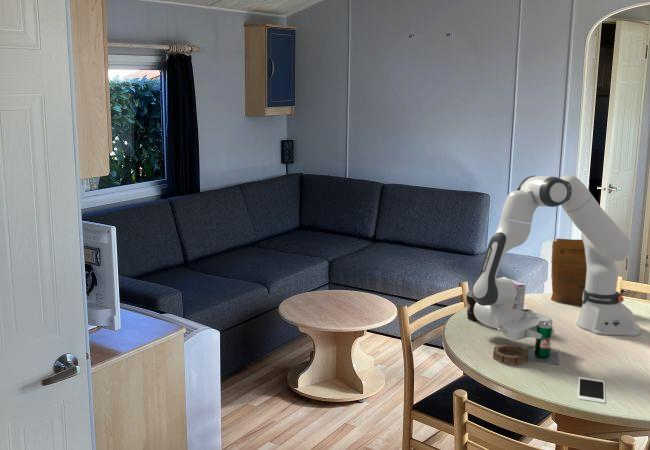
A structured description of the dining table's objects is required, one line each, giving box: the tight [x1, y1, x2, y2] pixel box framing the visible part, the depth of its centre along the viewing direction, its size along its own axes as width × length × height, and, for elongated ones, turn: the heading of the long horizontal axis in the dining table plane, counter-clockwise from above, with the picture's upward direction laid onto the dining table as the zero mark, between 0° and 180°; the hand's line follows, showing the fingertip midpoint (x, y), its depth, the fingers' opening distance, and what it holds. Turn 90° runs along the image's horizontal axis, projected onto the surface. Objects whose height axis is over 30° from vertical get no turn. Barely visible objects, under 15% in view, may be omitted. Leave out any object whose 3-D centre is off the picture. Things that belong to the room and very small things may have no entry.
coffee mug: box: [465, 290, 481, 323], centre depth 281 cm, size 12×9×10 cm
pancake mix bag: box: [550, 238, 587, 307], centre depth 297 cm, size 7×19×28 cm, turn 68°
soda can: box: [534, 321, 554, 359], centre depth 245 cm, size 5×5×12 cm
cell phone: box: [577, 376, 606, 404], centre depth 223 cm, size 8×16×1 cm, turn 160°
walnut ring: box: [492, 344, 528, 366], centre depth 245 cm, size 11×11×2 cm
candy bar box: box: [496, 276, 526, 310], centre depth 277 cm, size 11×5×16 cm, turn 34°
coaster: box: [527, 348, 560, 366], centre depth 246 cm, size 10×10×1 cm
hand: (547, 334), depth 243 cm, fingers open, 5 cm apart
